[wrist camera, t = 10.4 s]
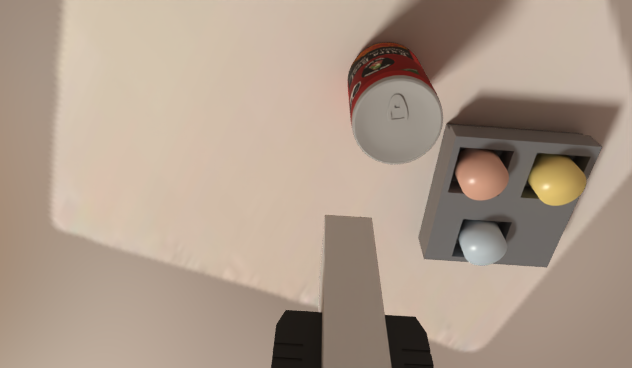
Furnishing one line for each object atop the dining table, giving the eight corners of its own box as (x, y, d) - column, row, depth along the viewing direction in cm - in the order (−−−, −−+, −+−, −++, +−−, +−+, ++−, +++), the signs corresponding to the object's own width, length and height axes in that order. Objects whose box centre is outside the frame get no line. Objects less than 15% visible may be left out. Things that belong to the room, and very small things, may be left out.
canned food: (407, 26, 45) (428, 62, 35) (431, 98, 49) (455, 146, 39) (334, 58, 46) (336, 100, 37) (363, 124, 50) (371, 177, 41)
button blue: (461, 213, 54) (469, 231, 51) (502, 215, 54) (512, 234, 51) (452, 244, 56) (459, 264, 53) (491, 247, 56) (500, 266, 53)
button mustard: (533, 148, 49) (546, 164, 46) (577, 151, 49) (593, 168, 46) (519, 186, 51) (531, 204, 49) (561, 189, 52) (575, 207, 49)
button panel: (447, 119, 50) (456, 136, 46) (583, 129, 50) (602, 146, 47) (418, 237, 59) (423, 258, 55) (534, 245, 59) (547, 267, 56)
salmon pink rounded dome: (458, 142, 49) (467, 159, 46) (503, 146, 49) (514, 162, 46) (448, 181, 51) (456, 198, 48) (491, 184, 51) (501, 201, 48)
